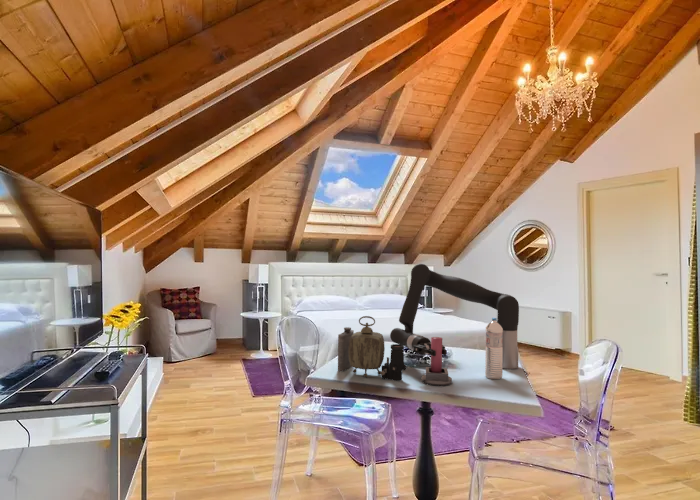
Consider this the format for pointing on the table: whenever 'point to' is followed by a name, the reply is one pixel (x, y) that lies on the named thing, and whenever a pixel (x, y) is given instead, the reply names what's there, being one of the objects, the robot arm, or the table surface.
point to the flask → (344, 349)
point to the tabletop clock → (366, 349)
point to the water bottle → (494, 350)
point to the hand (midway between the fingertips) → (440, 353)
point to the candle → (436, 360)
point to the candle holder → (437, 378)
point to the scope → (394, 364)
